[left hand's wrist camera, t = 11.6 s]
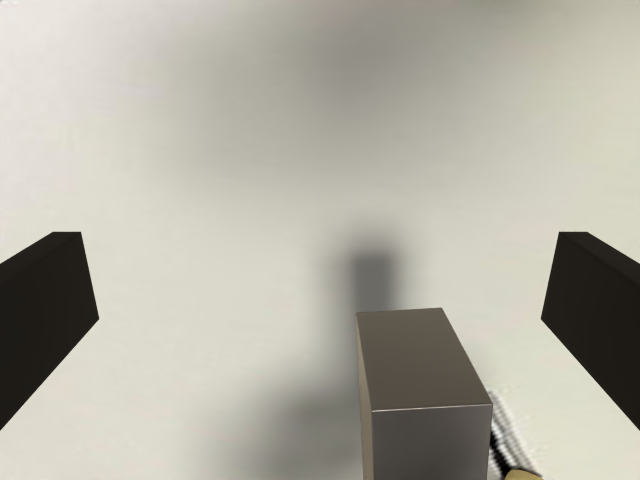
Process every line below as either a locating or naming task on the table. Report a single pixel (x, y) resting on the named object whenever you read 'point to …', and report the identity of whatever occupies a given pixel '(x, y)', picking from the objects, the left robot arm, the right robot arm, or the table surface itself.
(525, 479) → the toy gun
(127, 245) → the table surface
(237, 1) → the table surface
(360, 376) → the box
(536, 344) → the table surface
